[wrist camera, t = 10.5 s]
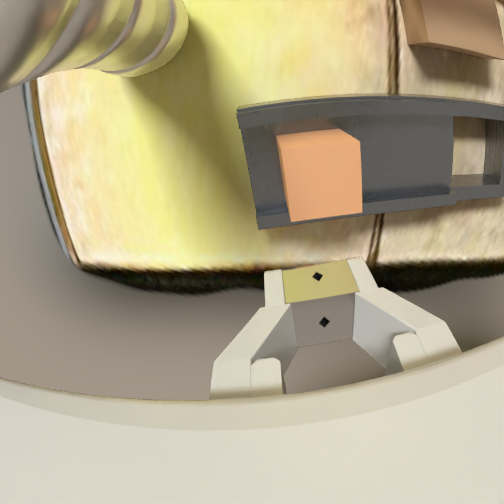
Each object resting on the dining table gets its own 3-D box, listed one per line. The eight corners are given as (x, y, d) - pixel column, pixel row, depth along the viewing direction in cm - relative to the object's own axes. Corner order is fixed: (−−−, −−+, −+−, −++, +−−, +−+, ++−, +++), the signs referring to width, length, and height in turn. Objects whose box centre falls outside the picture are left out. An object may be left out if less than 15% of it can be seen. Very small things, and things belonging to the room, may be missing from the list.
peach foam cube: (275, 135, 17) (281, 149, 14) (339, 128, 17) (359, 141, 13) (284, 194, 19) (290, 222, 16) (343, 187, 19) (362, 212, 15)
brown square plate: (387, -44, 11) (403, -56, 8) (466, -22, 10) (486, -27, 7) (408, 44, 15) (428, 42, 12) (483, 58, 14) (505, 60, 12)
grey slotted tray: (239, 106, 18) (235, 110, 15) (506, 105, 16) (531, 113, 13) (258, 210, 22) (259, 232, 20) (501, 185, 20) (523, 200, 17)
